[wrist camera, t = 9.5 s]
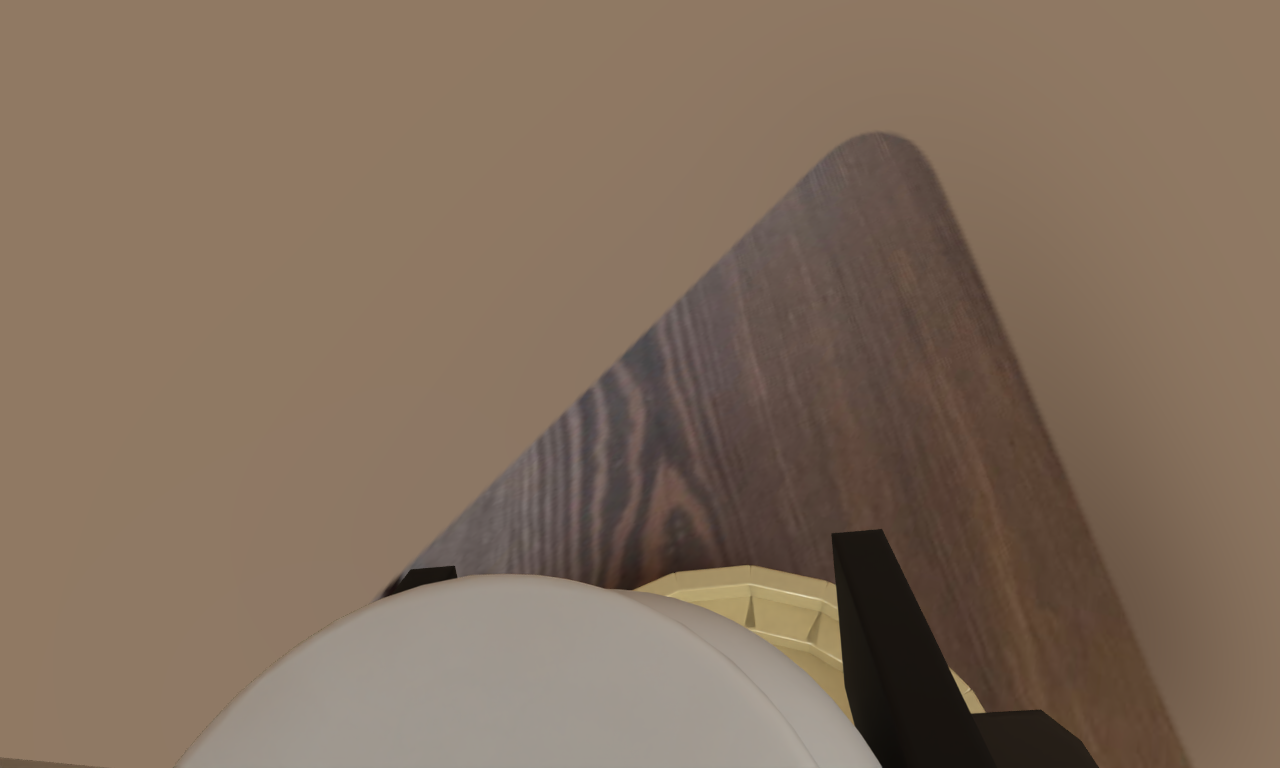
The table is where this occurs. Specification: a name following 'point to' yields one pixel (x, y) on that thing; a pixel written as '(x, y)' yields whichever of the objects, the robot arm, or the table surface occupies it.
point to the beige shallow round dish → (779, 617)
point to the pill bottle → (531, 688)
